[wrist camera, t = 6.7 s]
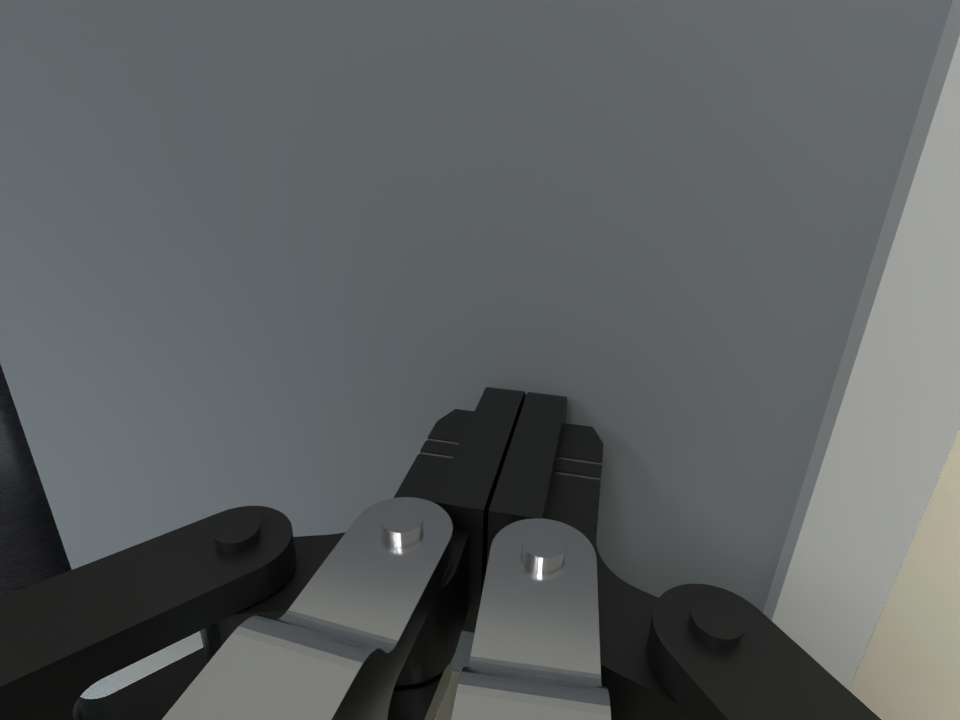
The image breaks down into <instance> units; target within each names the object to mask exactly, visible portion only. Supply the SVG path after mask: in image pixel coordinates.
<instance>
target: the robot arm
mask: <svg viewBox="0 0 960 720" xmlns="http://www.w3.org/2000/svg"><path fill="white" fill-rule="evenodd" d="M566 409H567V396H558V395H550V394H542V393H534V392H528V393H527V395H526V393H525V391H517V390H509V389H501V388H492V387H486V388H485V390H484V392H483V394H482V396H481V399H480V401H479V403H478V405H477V407H476V409H475V411H468V410H460V409H454V410H453V411H451V412H450V413H448V414H447V415H445V416H444V417H442V418H441V419H439V420H438V421H437V422H436V423H435V425H434V427H433V429H432V431H431V432H430V434H429V436H428V439H427V441H425V443H424V445H423V446H422V448H421V450H420V454H418V455H417V457H416V459H415V461H414V462H413V464H412V466H411V468H410V469H409V471H408V473H407V475H406V476H405V478H404V480H403V482H402V484H401V485H400V487H399V489H398V491H397V492H396V494H395V496H394V498H392V499H387V500H384V501H381V502H378V503H376V504H374V505H372V506H370V507H368V508H367V509H366V510H364V511H363V512H362V513H361V514H360V515H359V516H358V517H357V518H356V520H355V521H354V522H353V524H352V525H351V526H350V528H349V529H348V530H347V532H343V533H338V534H329V535H314V536H299V537H293V530H292V525H291V522H290V520H289V519H288V517H287V516H286V515H284V514H283V513H282V512H280V511H278V510H276V509H273V508H270V507H265V506H243V507H237V508H232V509H228V510H225V511H222V512H220V513H217V514H214V515H212V516H209V517H207V518H204V519H202V520H199V521H196V522H194V523H191V524H189V525H186V526H184V527H181V528H178V529H176V530H173V531H171V532H168V533H166V534H163V535H160V536H158V537H155V538H153V539H150V540H148V541H145V542H142V543H140V544H137V545H135V546H132V547H130V548H127V549H124V550H122V551H119V552H117V553H114V554H112V555H109V556H106V557H104V558H101V559H99V560H96V561H94V562H91V563H88V564H86V565H83V566H81V567H78V568H76V569H73V570H70V571H68V572H65V573H63V574H60V575H58V576H55V577H52V578H50V579H47V580H45V581H42V582H40V583H37V584H34V585H32V586H29V587H27V588H24V589H22V590H19V591H16V592H14V593H11V594H9V595H6V596H4V597H1V598H0V720H434V719H435V717H436V714H437V712H438V709H439V707H440V704H441V702H442V699H443V696H444V694H445V691H446V689H447V686H448V684H449V681H450V678H451V674H452V659H453V656H454V654H455V651H456V648H457V645H458V641H459V638H460V635H461V632H462V631H466V632H471V633H475V634H474V640H473V645H472V650H471V656H470V661H469V665H468V667H463V669H462V671H461V675H460V678H459V682H458V687H457V692H456V697H455V702H454V707H453V712H452V717H451V720H881V719H880V718H879V717H878V716H876V715H875V714H874V713H873V712H872V711H871V710H870V709H869V708H868V707H866V706H865V705H864V704H863V703H862V702H861V701H860V700H859V699H858V698H856V697H855V696H854V695H853V694H852V693H851V692H850V691H849V690H848V689H847V688H845V687H844V686H843V685H842V684H841V683H840V682H839V681H838V680H837V679H835V678H834V677H833V676H832V675H831V674H830V673H829V672H828V671H827V670H825V669H824V668H823V667H822V666H821V665H820V664H819V663H818V662H817V661H815V660H814V659H813V658H812V657H811V656H810V655H809V654H808V653H807V652H806V651H804V650H803V649H802V648H801V647H800V646H799V645H798V644H797V643H796V642H794V641H793V640H792V639H791V638H790V637H789V636H788V635H787V634H786V633H784V632H783V631H782V630H781V629H780V628H779V627H778V626H777V625H776V624H774V623H773V622H772V621H771V620H770V619H769V618H768V617H767V616H766V615H764V614H763V613H762V612H761V611H760V610H759V609H758V608H756V607H755V606H754V605H753V604H751V603H750V602H749V601H747V600H746V599H744V598H742V597H741V596H739V595H737V594H735V593H733V592H731V591H728V590H725V589H723V588H720V587H716V586H712V585H706V584H684V585H679V586H676V587H673V588H671V589H669V590H667V591H666V592H664V593H663V594H662V595H661V596H660V597H659V598H658V597H656V596H653V595H651V594H649V593H647V592H644V591H642V590H640V589H638V588H636V587H634V586H632V585H630V584H628V583H626V582H625V581H623V580H622V579H620V578H619V577H618V576H617V575H615V574H614V573H613V572H612V571H611V570H610V569H609V568H608V567H607V566H606V564H605V563H604V561H603V560H602V558H601V556H600V554H599V552H598V549H597V542H596V537H597V524H598V510H599V497H600V484H601V471H602V457H603V442H602V441H601V439H600V437H599V436H598V434H597V433H596V431H595V429H594V428H593V427H591V426H583V425H575V424H568V423H565V419H566ZM198 631H200V633H201V638H202V642H203V646H204V647H203V648H201V649H200V650H198V651H196V652H194V653H192V654H190V655H188V656H186V657H184V658H182V659H180V660H178V661H176V662H174V663H172V664H170V665H168V666H166V667H164V668H162V669H160V670H158V671H156V672H154V673H152V674H150V675H148V676H146V677H144V678H142V679H140V680H138V681H136V682H134V683H132V684H130V685H128V686H127V687H125V688H123V689H121V690H119V691H117V692H115V693H113V694H111V695H108V696H106V697H103V698H99V699H84V698H81V697H80V696H81V694H82V693H83V692H84V691H85V690H86V689H87V688H89V687H90V686H91V685H92V684H94V683H95V682H97V681H99V680H100V679H102V678H104V677H106V676H108V675H110V674H112V673H114V672H116V671H118V670H121V669H123V668H125V667H127V666H129V665H131V664H133V663H135V662H137V661H139V660H141V659H143V658H145V657H147V656H149V655H151V654H153V653H155V652H157V651H159V650H161V649H163V648H165V647H167V646H170V645H172V644H174V643H176V642H178V641H180V640H182V639H184V638H186V637H188V636H190V635H192V634H194V633H196V632H198Z"/></svg>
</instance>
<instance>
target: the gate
mask: <svg viewBox="0 0 960 720" xmlns="http://www.w3.org/2000/svg"><path fill="white" fill-rule="evenodd" d="M0 364H1V367H2V370H3V373H4V375H5V378H6V381H7V384H8V387H9V390H10V393H11V396H12V399H13V401H14V404H15V407H16V410H17V413H18V416H19V419H20V422H21V425H22V427H23V430H24V433H25V436H26V439H27V442H28V445H29V448H30V451H31V453H32V456H33V459H34V462H35V465H36V468H37V471H38V474H39V477H40V479H41V482H42V485H43V488H44V491H45V494H46V497H47V500H48V503H49V506H50V508H51V511H52V514H53V517H54V520H55V523H56V526H57V529H58V532H59V534H60V537H61V540H62V543H63V546H64V549H65V552H66V555H67V558H68V560H69V563H70V566H71V569H72V570H73V569H76V568H78V567H81V566H83V565H86V564H88V563H91V562H94V561H96V560H99V559H101V558H104V557H106V556H109V555H112V554H114V553H117V552H119V551H122V550H124V549H127V548H130V547H132V546H135V545H137V544H140V543H142V542H145V541H148V540H150V539H153V538H155V537H158V536H160V535H163V534H166V533H168V532H171V531H173V530H176V529H178V528H181V527H184V526H186V525H189V524H191V523H194V522H196V521H199V520H202V519H204V518H207V517H209V516H212V515H214V514H217V513H220V512H222V511H225V510H228V509H232V508H237V507H243V506H265V507H270V508H273V509H276V510H278V511H280V512H282V513H283V514H284V515H286V516H287V517H288V519H289V520H290V522H291V525H292V530H293V537H299V536H314V535H329V534H338V533H343V532H347V530H348V529H349V528H350V526H351V525H352V524H353V522H354V521H355V520H356V518H357V517H358V516H359V515H360V514H361V513H362V512H363V511H364V510H366V509H367V508H368V507H370V506H372V505H374V504H376V503H378V502H381V501H384V500H387V499H392V498H394V496H395V494H396V492H397V491H398V489H399V487H400V485H401V484H402V482H403V480H404V478H405V476H406V475H407V473H408V471H409V469H410V468H411V466H412V464H413V462H414V461H415V459H416V457H417V455H418V454H420V450H421V448H422V446H423V445H424V443H425V441H427V439H428V436H429V434H430V432H431V431H432V429H433V427H434V425H435V423H436V422H437V421H438V420H439V419H441V418H442V417H444V416H445V415H447V414H448V413H450V412H451V411H453V410H454V409H460V410H468V411H475V409H476V407H477V405H478V403H479V401H480V399H481V396H482V394H483V392H484V390H485V388H486V387H492V388H501V389H509V390H517V391H525V393H526V395H527V393H528V392H534V393H542V394H550V395H558V396H567V409H566V419H565V423H568V424H575V425H583V426H591V427H593V428H594V429H595V431H596V433H597V434H598V436H599V437H600V439H601V441H602V442H603V457H602V471H601V484H600V497H599V510H598V524H597V537H596V542H597V549H598V552H599V554H600V556H601V558H602V560H603V561H604V563H605V564H606V566H607V567H608V568H609V569H610V570H611V571H612V572H613V573H614V574H615V575H617V576H618V577H619V578H620V579H622V580H623V581H625V582H626V583H628V584H630V585H632V586H634V587H636V588H638V589H640V590H642V591H644V592H647V593H649V594H651V595H653V596H656V597H658V598H659V597H660V596H661V595H662V594H663V593H664V592H666V591H667V590H669V589H671V588H673V587H676V586H679V585H684V584H706V585H712V586H716V587H720V588H723V589H725V590H728V591H731V592H733V593H735V594H737V595H739V596H741V597H742V598H744V599H746V600H747V601H749V602H750V603H751V604H753V605H754V606H755V607H756V608H758V609H759V610H760V611H761V612H762V613H763V614H764V615H766V616H767V617H768V618H769V619H770V620H771V621H772V622H773V623H774V624H776V625H777V626H778V627H779V628H780V629H781V630H782V631H783V632H784V633H786V634H787V635H788V636H789V637H790V638H791V639H792V640H793V641H794V642H796V643H797V644H798V645H799V646H800V647H801V648H802V649H803V650H804V651H806V652H807V653H808V654H809V655H810V656H811V657H812V658H813V659H814V660H815V661H817V662H818V663H819V664H820V665H821V666H822V667H823V668H824V669H825V670H827V671H828V672H829V673H830V674H831V675H832V676H833V677H834V678H835V679H837V680H838V681H839V682H840V683H841V684H842V685H843V686H844V687H845V688H847V689H848V690H849V688H850V685H851V683H852V681H853V678H854V676H855V673H856V671H857V669H858V666H859V664H860V662H861V659H862V657H863V655H864V652H865V650H866V648H867V645H868V643H869V641H870V638H871V636H872V633H873V631H874V629H875V626H876V624H877V622H878V619H879V617H880V615H881V612H882V610H883V608H884V605H885V603H886V601H887V598H888V596H889V593H890V591H891V589H892V586H893V584H894V582H895V579H896V577H897V575H898V572H899V570H900V568H901V565H902V563H903V560H904V558H905V556H906V553H907V551H908V549H909V546H910V544H911V542H912V539H913V537H914V535H915V532H916V530H917V528H918V525H919V523H920V520H921V518H922V516H923V513H924V511H925V509H926V506H927V504H928V502H929V499H930V497H931V495H932V492H933V490H934V488H935V485H936V483H937V480H938V478H939V476H940V473H941V471H942V469H943V466H944V464H945V462H946V459H947V457H948V455H949V452H950V450H951V447H952V445H953V443H954V440H955V438H956V436H957V433H958V431H959V429H960V0H0ZM474 634H475V633H471V632H466V631H462V632H461V635H460V638H459V641H458V645H457V648H456V651H455V654H454V656H453V659H452V670H455V671H462V669H463V667H468V665H469V661H470V656H471V650H472V645H473V640H474Z"/></svg>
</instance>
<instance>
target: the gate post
mask: <svg viewBox="0 0 960 720" xmlns="http://www.w3.org/2000/svg"><path fill="white" fill-rule="evenodd" d="M70 570H72V569H71V566H70V563H69V560H68V558H67V555H66V552H65V549H64V546H63V543H62V540H61V537H60V534H59V532H58V529H57V526H56V523H55V520H54V517H53V514H52V511H51V508H50V506H49V503H48V500H47V497H46V494H45V491H44V488H43V485H42V482H41V479H40V477H39V474H38V471H37V468H36V465H35V462H34V459H33V456H32V453H31V451H30V448H29V445H28V442H27V439H26V436H25V433H24V430H23V427H22V425H21V422H20V419H19V416H18V413H17V410H16V407H15V404H14V401H13V399H12V396H11V393H10V390H9V387H8V384H7V381H6V378H5V375H4V373H3V370H2V367H1V364H0V598H1V597H4V596H6V595H9V594H11V593H14V592H16V591H19V590H22V589H24V588H27V587H29V586H32V585H34V584H37V583H40V582H42V581H45V580H47V579H50V578H52V577H55V576H58V575H60V574H63V573H65V572H68V571H70Z"/></svg>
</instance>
